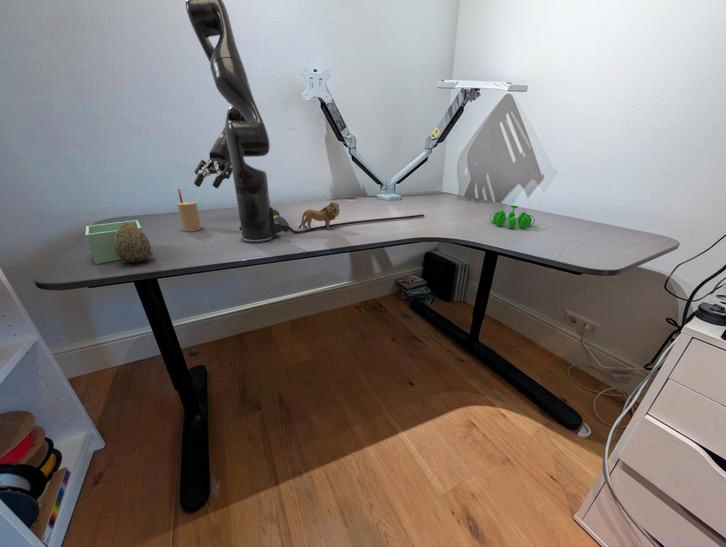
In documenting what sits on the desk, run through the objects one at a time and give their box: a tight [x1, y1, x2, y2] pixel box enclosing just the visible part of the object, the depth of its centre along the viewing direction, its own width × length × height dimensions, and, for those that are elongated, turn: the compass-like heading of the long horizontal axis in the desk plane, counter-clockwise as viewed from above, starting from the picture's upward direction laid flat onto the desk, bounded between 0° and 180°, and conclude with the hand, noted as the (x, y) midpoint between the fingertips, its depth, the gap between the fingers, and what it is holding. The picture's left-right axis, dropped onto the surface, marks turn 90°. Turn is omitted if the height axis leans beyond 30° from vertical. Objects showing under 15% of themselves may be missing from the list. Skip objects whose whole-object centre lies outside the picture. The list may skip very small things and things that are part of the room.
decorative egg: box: [114, 223, 151, 264], centre depth 76 cm, size 7×7×10 cm
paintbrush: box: [273, 208, 290, 231], centre depth 112 cm, size 20×5×5 cm, turn 38°
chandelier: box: [489, 205, 536, 230], centre depth 114 cm, size 15×15×7 cm
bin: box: [84, 219, 143, 265], centre depth 82 cm, size 11×10×8 cm
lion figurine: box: [297, 201, 341, 231], centre depth 107 cm, size 15×5×9 cm, turn 103°
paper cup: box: [177, 188, 202, 233], centre depth 104 cm, size 6×6×14 cm
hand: (205, 186), depth 109 cm, fingers open, 8 cm apart
